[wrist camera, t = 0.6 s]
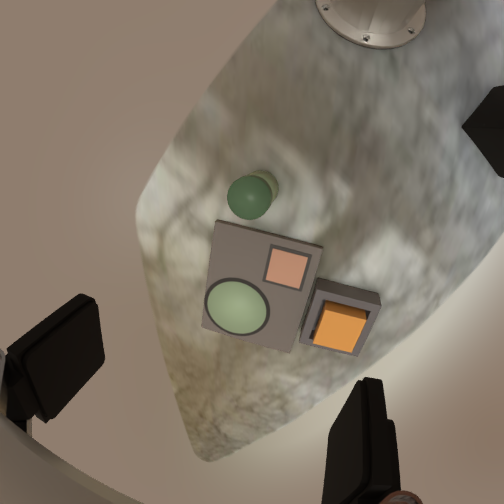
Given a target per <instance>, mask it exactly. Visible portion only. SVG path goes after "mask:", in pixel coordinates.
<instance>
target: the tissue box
mask: <svg viewBox="0 0 504 504" xmlns="http://www.w3.org/2000/svg"><path fill="white" fill-rule="evenodd" d="M462 128H463V129H464V130H465V132H466V133H467V134H468V135H469V137H470V138H471V139H472V140H473V142H474V143H475V144H476V145H477V147H478V148H479V149H480V151H481V152H482V153H483V155H484V156H485V157H486V159H487V160H488V162H489V163H490V164H491V166H492V167H493V169H494V170H495V171H496V173H497V174H498V176H500V177H503V178H504V85H503V86H498V87H494V88H493V89H492V90H491V91H490V93H489V94H488V95H487V96H486V98H485V99H484V100H483V101H482V103H481V104H480V105H479V106H478V108H477V109H476V110H475V111H474V113H473V114H472V115H471V116H470V117H469V119H468V120H467V121H466V122H465V124H464V125H463V126H462Z"/></svg>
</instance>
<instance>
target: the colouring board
mask: <svg viewBox="0 0 504 504" xmlns="http://www.w3.org/2000/svg"><path fill="white" fill-rule="evenodd" d="M322 251H323V247H322V246H318V245H314V244H310V243H307V242H303V241H299V240H295V239H291V238H288V237H284V236H280V235H276V234H272V233H268V232H264V231H261V230H257V229H253V228H249V227H245V226H241V225H237V224H233V223H229V222H225V221H221V220H216V221H215V226H214V233H213V240H212V247H211V254H210V261H209V269H208V277H207V284H206V292H205V299H204V309H203V317H202V326H201V327H202V328H205V329H209V330H212V331H215V332H218V333H221V334H224V335H227V336H231V337H234V338H237V339H241V340H244V341H247V342H251V343H254V344H258V345H261V346H265V347H268V348H272V349H275V350H279V351H283V352H287V353H290V351H291V348H292V345H293V342H294V339H295V336H296V333H297V330H298V327H299V324H300V321H301V318H302V315H303V312H304V309H305V306H306V303H307V300H308V297H309V293H310V290H311V287H312V284H313V281H314V277H315V274H316V271H317V267H318V264H319V261H320V257H321V254H322Z"/></svg>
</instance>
